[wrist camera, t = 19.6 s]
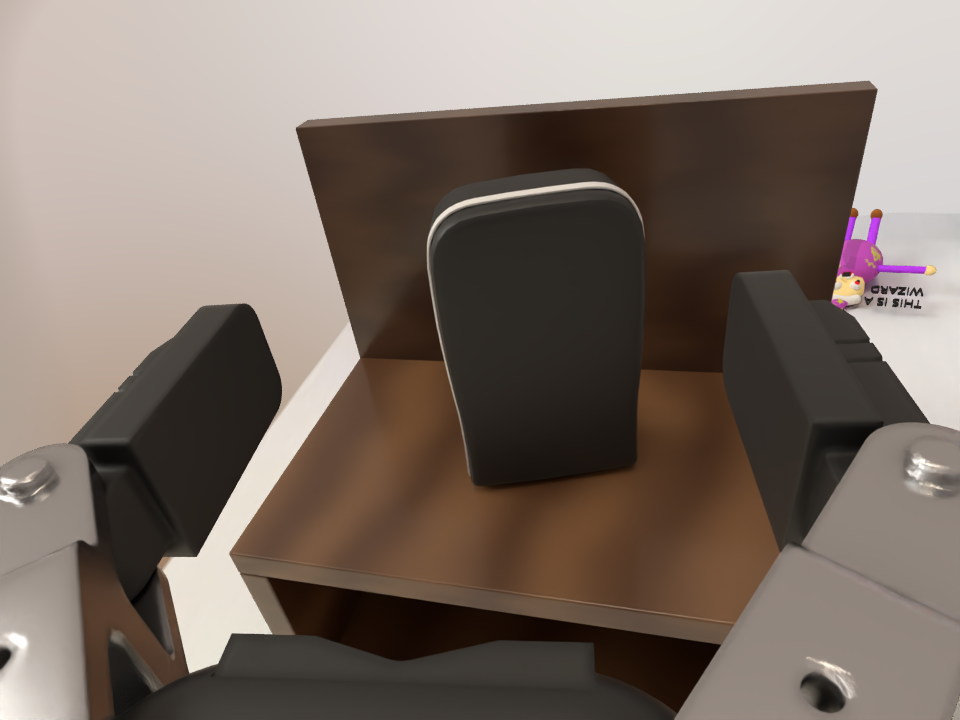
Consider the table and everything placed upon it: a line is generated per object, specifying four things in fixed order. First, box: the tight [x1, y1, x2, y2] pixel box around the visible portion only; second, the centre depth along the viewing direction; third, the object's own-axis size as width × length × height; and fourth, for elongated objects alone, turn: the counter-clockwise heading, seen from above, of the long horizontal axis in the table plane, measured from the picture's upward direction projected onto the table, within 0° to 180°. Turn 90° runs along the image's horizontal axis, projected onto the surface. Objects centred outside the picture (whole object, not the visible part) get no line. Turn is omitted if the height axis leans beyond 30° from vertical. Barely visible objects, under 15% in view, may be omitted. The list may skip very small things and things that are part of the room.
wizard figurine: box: [831, 208, 936, 310], centre depth 52 cm, size 11×3×12 cm
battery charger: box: [427, 168, 646, 486], centre depth 23 cm, size 7×4×11 cm, turn 94°
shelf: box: [230, 81, 877, 714], centre depth 26 cm, size 22×14×22 cm, turn 76°
